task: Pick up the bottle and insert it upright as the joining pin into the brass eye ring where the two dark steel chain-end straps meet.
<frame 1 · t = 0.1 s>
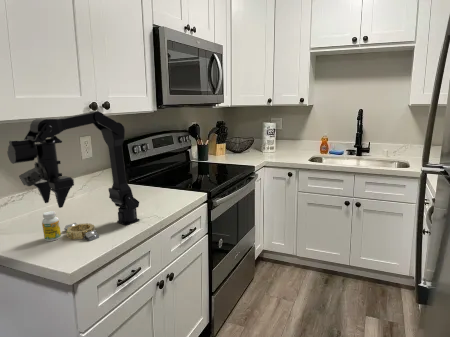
hand: (53, 205, 114), 15 cm above the worktop, fingers open, 9 cm apart
supplement bottle: (53, 239, 124), on the worktop
chain joint: (81, 234, 127), on the worktop
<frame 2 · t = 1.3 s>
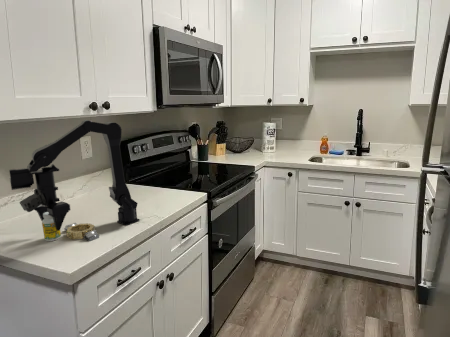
hand: (51, 227, 123), 4 cm above the worktop, fingers open, 9 cm apart
nothing on the worktop moved.
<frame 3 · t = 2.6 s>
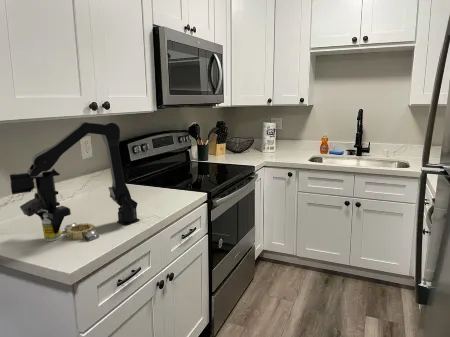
hand: (52, 231, 124), 3 cm above the worktop, fingers closed on supplement bottle, 5 cm apart
supplement bottle: (52, 238, 124), on the worktop, touching gripper
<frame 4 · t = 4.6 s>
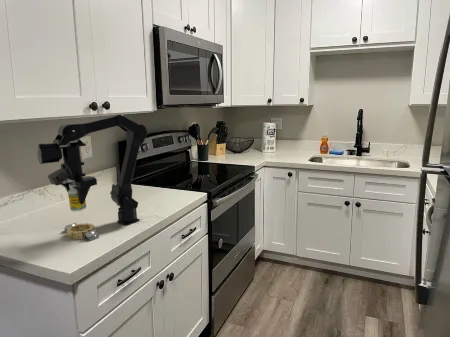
hand: (77, 202, 125), 12 cm above the worktop, fingers closed on supplement bottle, 5 cm apart
supplement bottle: (78, 209, 125), point 9 cm above the worktop, touching gripper
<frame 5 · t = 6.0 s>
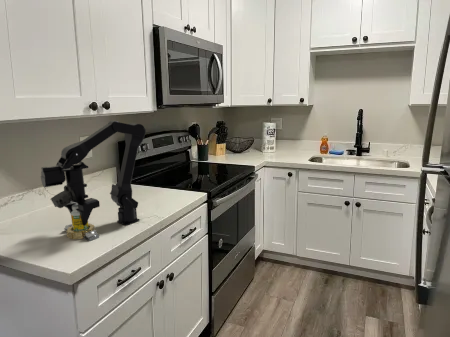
hand: (80, 223, 127), 4 cm above the worktop, fingers closed on supplement bottle, 5 cm apart
supplement bottle: (81, 230, 127), point 1 cm above the worktop, touching gripper
when the fingers open (4 cm above the worktop, at t = 6.8 s): supplement bottle drops 1 cm, resting in chain joint.
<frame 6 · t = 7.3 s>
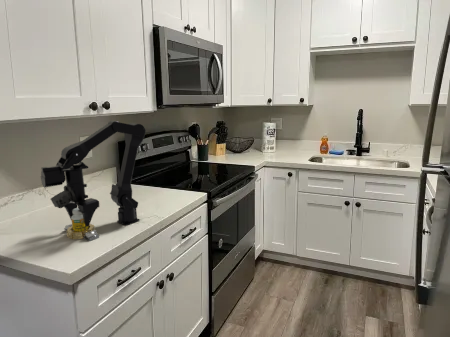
hand: (80, 223, 127), 4 cm above the worktop, fingers open, 9 cm apart
supplement bottle: (81, 234, 127), resting in chain joint
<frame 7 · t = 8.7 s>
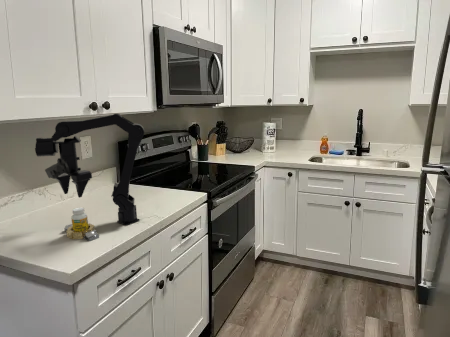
hand: (72, 195, 132), 13 cm above the worktop, fingers open, 9 cm apart
nothing on the worktop moved.
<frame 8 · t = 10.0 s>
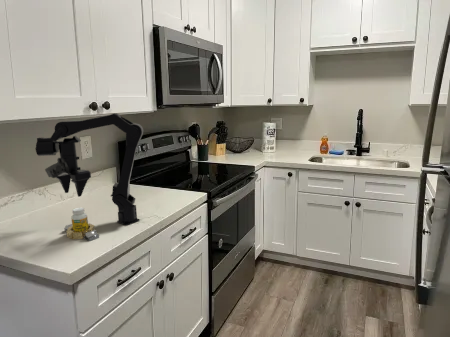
hand: (73, 194, 134), 12 cm above the worktop, fingers open, 9 cm apart
nothing on the worktop moved.
at the end: supplement bottle 0.1 cm from the chain joint (horizontally); supplement bottle resting in chain joint; supplement bottle tilted 0° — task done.
